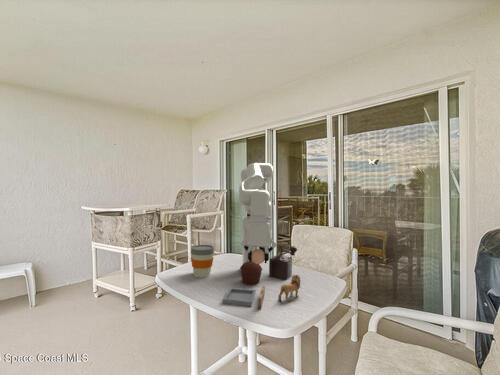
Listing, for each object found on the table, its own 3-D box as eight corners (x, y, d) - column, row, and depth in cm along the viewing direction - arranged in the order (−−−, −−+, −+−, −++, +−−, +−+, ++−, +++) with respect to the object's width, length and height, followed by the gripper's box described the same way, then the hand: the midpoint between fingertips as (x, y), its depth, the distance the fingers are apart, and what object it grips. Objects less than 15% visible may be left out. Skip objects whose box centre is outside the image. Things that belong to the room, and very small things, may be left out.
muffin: (235, 282, 122) (235, 263, 122) (245, 276, 132) (246, 257, 132) (256, 287, 117) (256, 267, 117) (265, 280, 126) (266, 261, 127)
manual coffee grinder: (267, 276, 132) (268, 243, 132) (275, 270, 142) (275, 240, 142) (295, 282, 125) (296, 247, 125) (301, 275, 135) (301, 243, 135)
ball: (252, 261, 106) (252, 247, 105) (265, 261, 105) (266, 248, 105) (250, 265, 100) (250, 250, 100) (264, 266, 99) (265, 251, 99)
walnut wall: (261, 294, 109) (262, 286, 109) (264, 295, 109) (264, 286, 109) (258, 308, 96) (258, 298, 96) (261, 309, 96) (261, 299, 96)
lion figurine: (292, 291, 114) (293, 272, 114) (302, 294, 110) (303, 275, 110) (274, 301, 102) (275, 280, 103) (285, 306, 99) (286, 284, 99)
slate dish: (230, 291, 112) (230, 287, 112) (255, 293, 110) (255, 289, 110) (223, 303, 100) (223, 299, 100) (251, 306, 98) (251, 301, 98)
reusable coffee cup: (211, 279, 126) (211, 250, 127) (187, 278, 127) (188, 249, 127) (215, 271, 139) (215, 245, 139) (193, 270, 139) (194, 244, 139)
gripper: (279, 219, 105) (278, 260, 105) (240, 217, 107) (239, 258, 107) (279, 221, 97) (278, 266, 97) (237, 219, 100) (236, 263, 100)
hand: (258, 261), depth 102 cm, fingers closed on ball, 5 cm apart
